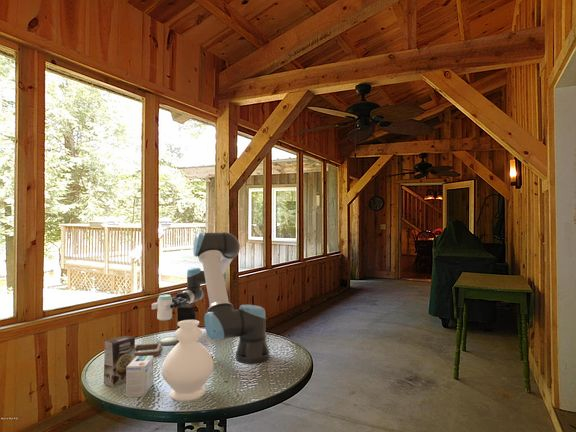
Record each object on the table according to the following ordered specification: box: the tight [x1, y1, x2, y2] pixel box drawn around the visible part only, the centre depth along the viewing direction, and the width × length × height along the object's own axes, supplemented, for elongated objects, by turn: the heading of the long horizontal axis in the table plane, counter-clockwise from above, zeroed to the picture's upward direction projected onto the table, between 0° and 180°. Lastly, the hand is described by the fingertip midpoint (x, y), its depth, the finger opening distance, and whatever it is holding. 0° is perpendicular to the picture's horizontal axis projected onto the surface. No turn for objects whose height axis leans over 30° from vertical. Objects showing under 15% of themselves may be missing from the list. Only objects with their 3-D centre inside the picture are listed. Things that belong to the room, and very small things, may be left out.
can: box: [156, 294, 173, 322], centre depth 187 cm, size 7×7×12 cm
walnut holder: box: [135, 342, 162, 357], centre depth 174 cm, size 12×12×2 cm
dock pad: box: [155, 335, 177, 347], centre depth 190 cm, size 12×12×1 cm
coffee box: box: [103, 335, 136, 388], centre depth 142 cm, size 9×6×16 cm
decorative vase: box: [161, 320, 214, 402], centre depth 132 cm, size 18×18×25 cm
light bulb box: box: [125, 356, 154, 398], centre depth 134 cm, size 11×7×11 cm, turn 5°
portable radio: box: [176, 304, 197, 345], centre depth 171 cm, size 8×6×25 cm
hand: (158, 307), depth 183 cm, fingers closed on can, 7 cm apart
